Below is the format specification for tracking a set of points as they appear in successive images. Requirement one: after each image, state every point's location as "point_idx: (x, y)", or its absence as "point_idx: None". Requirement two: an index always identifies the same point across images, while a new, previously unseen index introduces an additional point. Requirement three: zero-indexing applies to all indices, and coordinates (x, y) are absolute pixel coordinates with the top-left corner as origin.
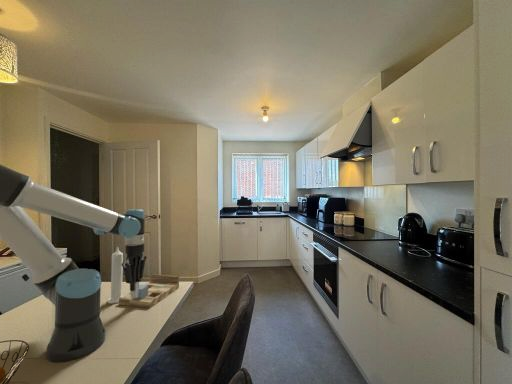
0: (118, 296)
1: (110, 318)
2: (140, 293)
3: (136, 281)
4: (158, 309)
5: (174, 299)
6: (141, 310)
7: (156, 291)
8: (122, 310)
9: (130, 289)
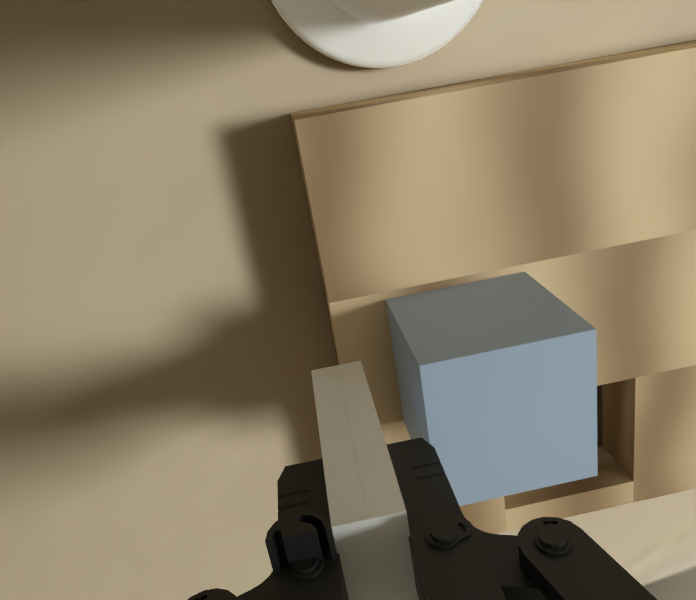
0: (364, 14)
1: (6, 361)
2: None
3: (416, 587)
4: None
5: None
6: None
7: (662, 395)
8: (198, 313)
9: (280, 494)
